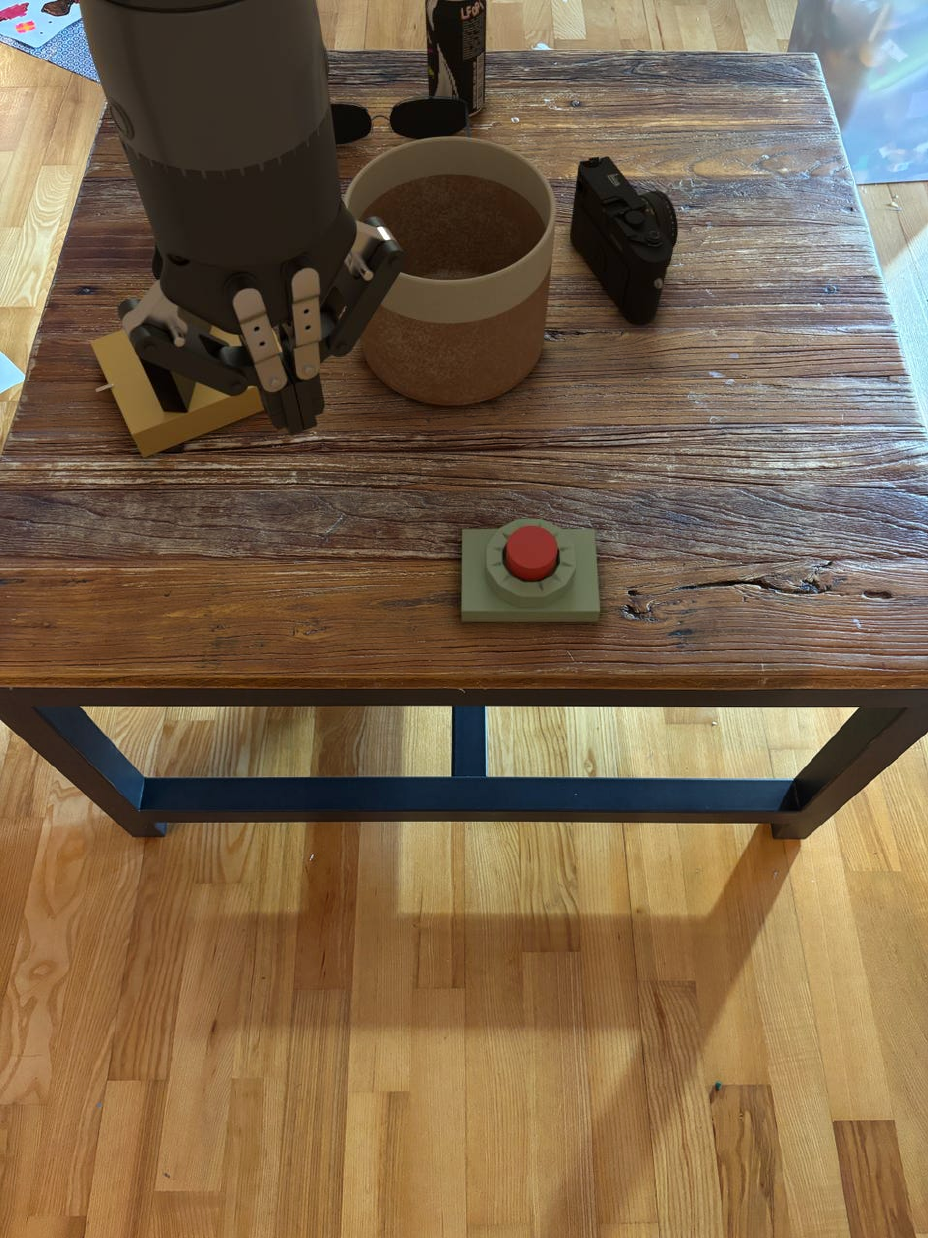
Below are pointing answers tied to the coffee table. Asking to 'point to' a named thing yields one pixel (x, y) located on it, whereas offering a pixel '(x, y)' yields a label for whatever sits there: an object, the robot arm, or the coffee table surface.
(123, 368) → the plate
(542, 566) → the button
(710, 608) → the coffee table surface
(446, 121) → the sunglasses
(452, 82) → the beverage can
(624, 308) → the camera
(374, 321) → the planter
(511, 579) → the button block
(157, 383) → the block
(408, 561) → the coffee table surface
